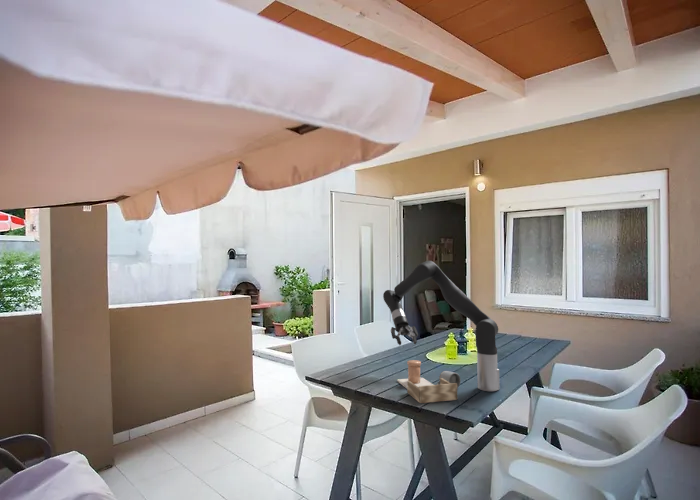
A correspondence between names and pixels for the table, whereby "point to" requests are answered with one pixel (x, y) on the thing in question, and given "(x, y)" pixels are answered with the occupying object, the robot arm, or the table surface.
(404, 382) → the stone tile
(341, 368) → the table surface
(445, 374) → the ceramic mug
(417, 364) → the tan round-topped cylinder
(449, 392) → the wooden frame
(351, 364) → the table surface
